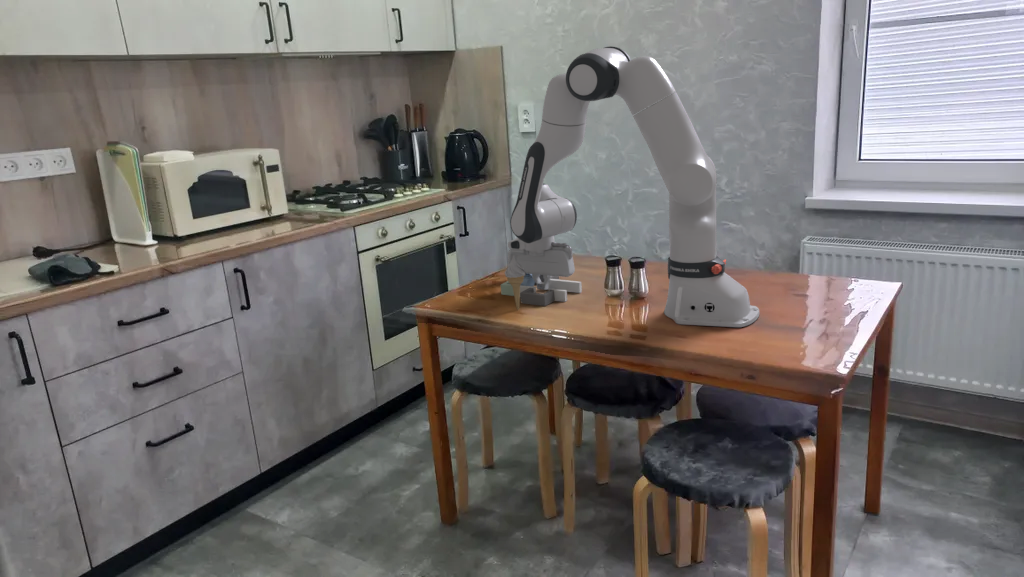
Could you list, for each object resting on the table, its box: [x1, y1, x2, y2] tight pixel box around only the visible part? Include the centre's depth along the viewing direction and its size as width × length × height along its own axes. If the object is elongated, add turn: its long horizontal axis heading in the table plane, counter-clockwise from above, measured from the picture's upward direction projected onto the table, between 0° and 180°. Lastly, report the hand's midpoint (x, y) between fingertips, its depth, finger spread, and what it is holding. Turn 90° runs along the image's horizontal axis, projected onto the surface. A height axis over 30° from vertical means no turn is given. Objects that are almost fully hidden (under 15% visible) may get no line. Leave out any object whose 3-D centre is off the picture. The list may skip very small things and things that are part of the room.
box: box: [500, 275, 583, 307], centre depth 201 cm, size 21×20×3 cm
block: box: [521, 273, 535, 287], centre depth 203 cm, size 5×5×5 cm
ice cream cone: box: [504, 256, 525, 311], centre depth 186 cm, size 6×6×15 cm
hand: (542, 288), depth 200 cm, fingers closed
